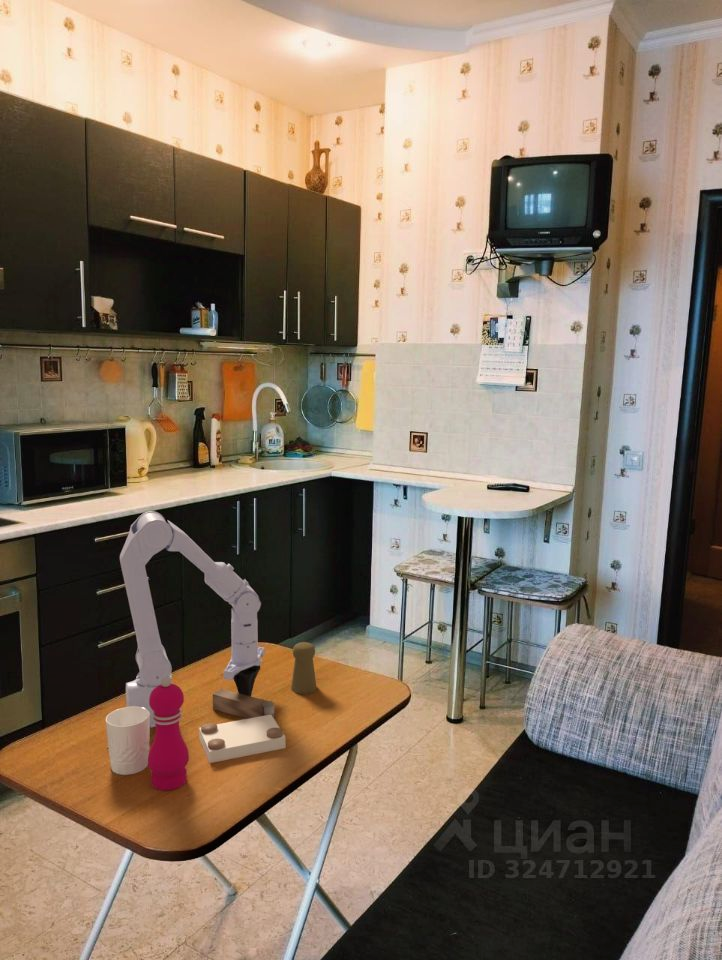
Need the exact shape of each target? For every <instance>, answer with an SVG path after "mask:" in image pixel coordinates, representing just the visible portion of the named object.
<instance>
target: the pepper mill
mask: <svg viewBox="0 0 722 960" xmlns="http://www.w3.org/2000/svg"><path fill="white" fill-rule="evenodd" d="M184 697H185V696H184V692H183V690H182V689H181V688H180V686H178V685H177V684H174V683H172V684H171V679H170V678H169V677H164V678H162V680H161V685H159V686H157V687H156V688H154V689H153V691H152V692H151V694H150V697H149V705H150V707H151V709H152V710H153V714H152V715H153V722H154V723H155V725H156V727H155V734H154V738H153V741H152V744H151V745H150V747H149V755H148V765H147V767H149V770H150V771H151V773H150V781H151V782H150V783H151V786H152V787H153V788H154V789H156V790H159V791H172V790H173V791H174V790H176V789H178V788H180V787H182V786H183V785H184V784H185V783H186V781H187V779H188V775H187V774H188V773H187V772H188V771H187V768H186V766H187V765H188V763H189V760H190V754H189V749H188V746H187V744H186V742H185V741H184V737H183V735H182V734H181V730H180V721H181V718H182V708H181V707H183V705H184V702H185V701H184V700H185V698H184Z"/></svg>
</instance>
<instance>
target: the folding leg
mask: <svg viewBox="0 0 722 960" xmlns="http://www.w3.org/2000/svg"><path fill="white" fill-rule="evenodd" d="M212 710H213V711H218V712H220V713H221V712H222V713H225V714H229V715H233V716H237V717H240V718H243V719H249V718H254V717H260V716H265V715H272V717H273V718H274V719H275V702H274V701H272V700H265V699H261V698H258V697H254V696H252V695H251V696H247V695H243V694H239V693H238V692H234V691H230V690H227V689H223V688H221V689H218V690H217V691H215V692H214V693H212Z"/></svg>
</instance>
